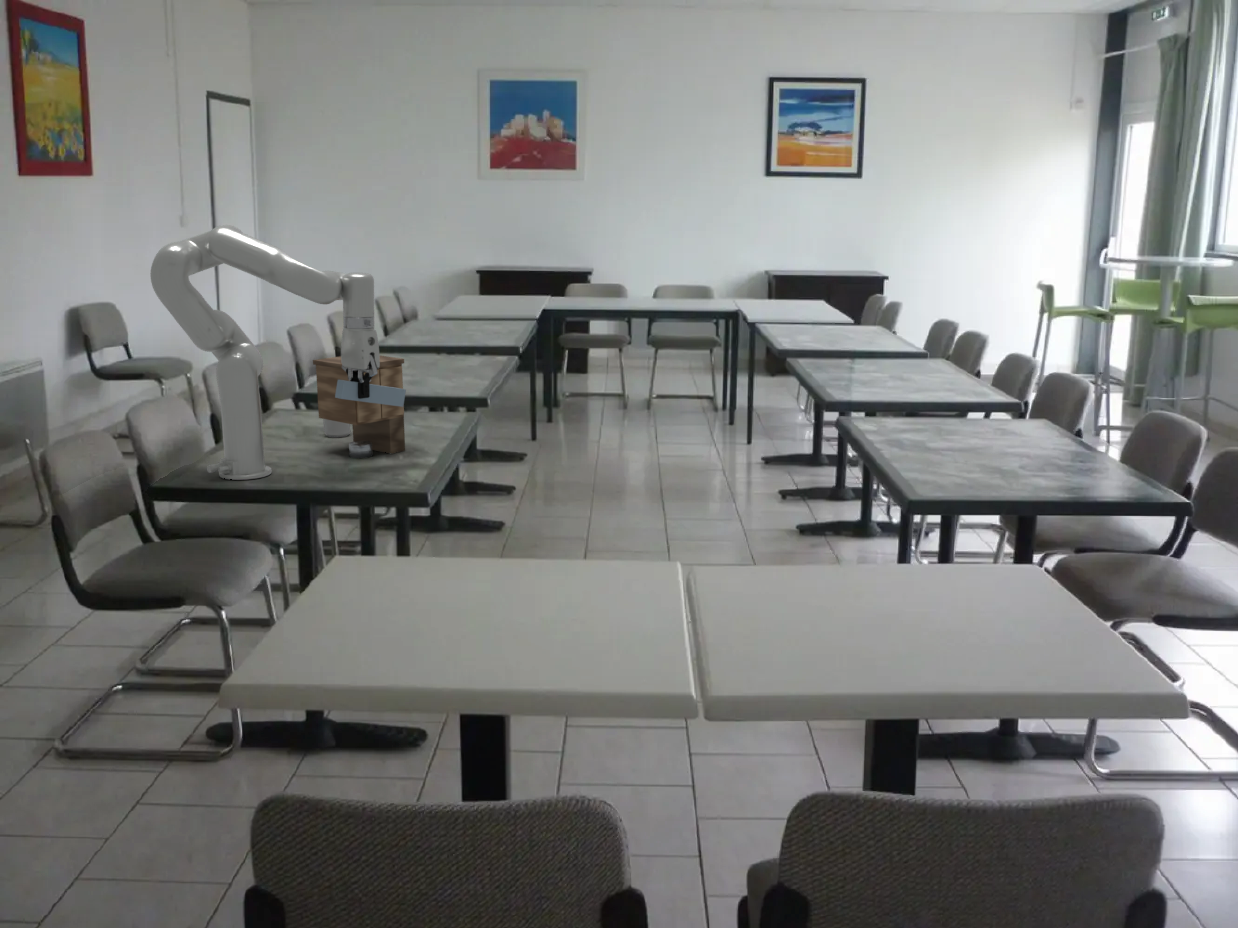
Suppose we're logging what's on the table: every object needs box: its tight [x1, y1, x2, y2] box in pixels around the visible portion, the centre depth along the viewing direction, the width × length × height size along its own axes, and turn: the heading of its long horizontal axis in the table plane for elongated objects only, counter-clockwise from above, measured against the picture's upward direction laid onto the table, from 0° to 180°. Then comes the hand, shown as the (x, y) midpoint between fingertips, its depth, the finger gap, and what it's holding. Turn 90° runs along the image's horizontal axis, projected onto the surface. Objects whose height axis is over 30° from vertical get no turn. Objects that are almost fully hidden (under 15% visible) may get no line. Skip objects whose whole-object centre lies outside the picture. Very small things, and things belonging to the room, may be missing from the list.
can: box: [322, 419, 352, 439], centre depth 355 cm, size 8×8×12 cm
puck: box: [348, 441, 373, 459], centre depth 330 cm, size 6×6×4 cm
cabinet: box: [312, 354, 406, 454], centre depth 332 cm, size 17×18×25 cm
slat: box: [335, 380, 407, 407], centre depth 311 cm, size 20×2×4 cm, turn 140°
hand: (359, 396), depth 308 cm, fingers closed on slat, 2 cm apart
